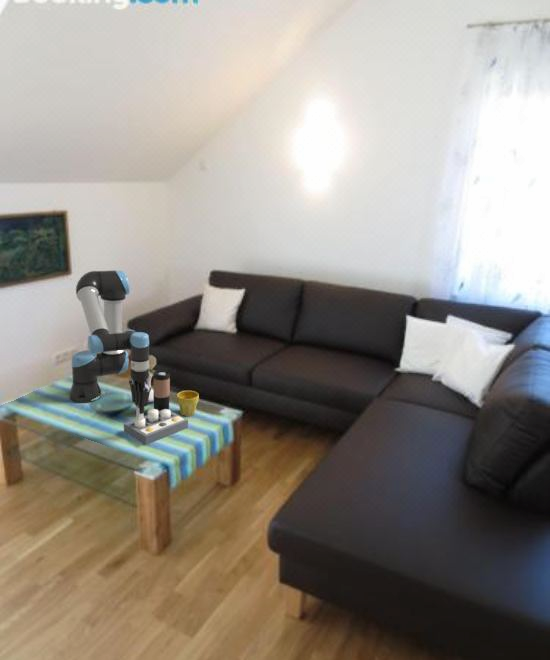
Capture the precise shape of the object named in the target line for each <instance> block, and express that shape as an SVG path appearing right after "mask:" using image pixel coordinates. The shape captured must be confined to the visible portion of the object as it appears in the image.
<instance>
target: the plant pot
mask: <svg viewBox="0 0 550 660" xmlns="http://www.w3.org/2000/svg"><path fill="white" fill-rule="evenodd" d="M199 396H200V395H199V392H197V391H194V390H182V391H180V392H178V393H177V395H176V402H177V403H178V407H179V410H180V415H183V416H184V415H185V416H184V417H190V416H194V414H195V413H196V408H197V404H198V403H199V401H200V397H199Z"/></svg>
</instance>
